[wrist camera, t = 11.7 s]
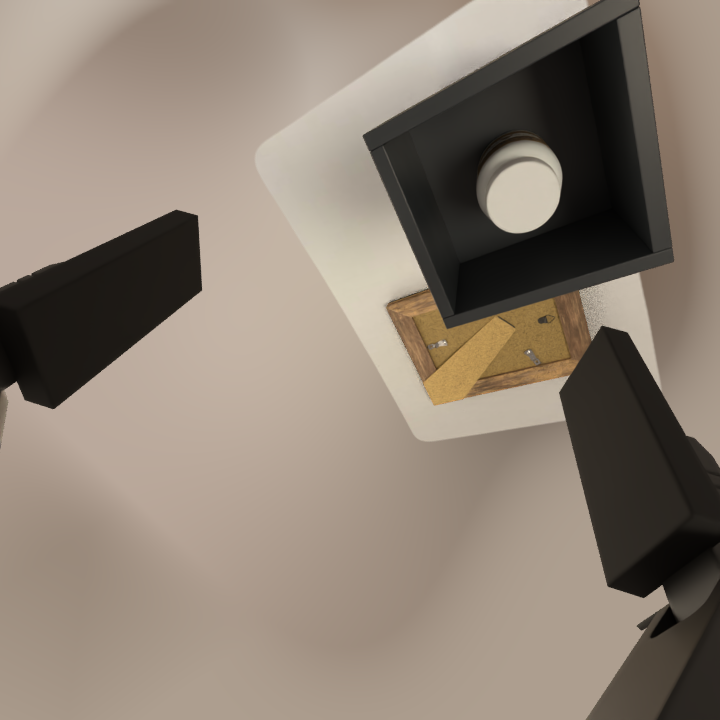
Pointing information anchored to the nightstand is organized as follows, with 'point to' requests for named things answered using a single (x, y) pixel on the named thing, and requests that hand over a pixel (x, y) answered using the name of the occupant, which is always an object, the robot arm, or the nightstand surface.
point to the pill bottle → (518, 181)
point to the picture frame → (491, 345)
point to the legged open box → (569, 144)
